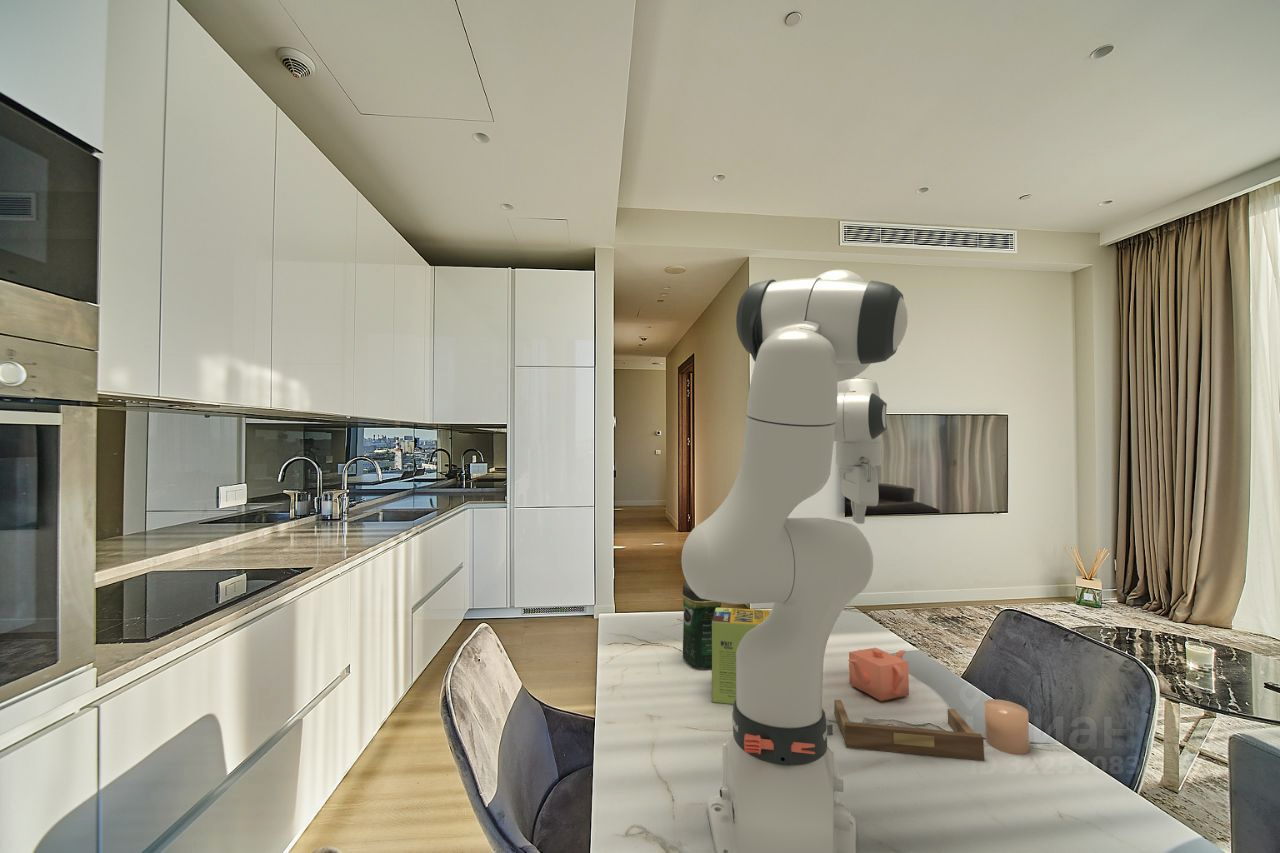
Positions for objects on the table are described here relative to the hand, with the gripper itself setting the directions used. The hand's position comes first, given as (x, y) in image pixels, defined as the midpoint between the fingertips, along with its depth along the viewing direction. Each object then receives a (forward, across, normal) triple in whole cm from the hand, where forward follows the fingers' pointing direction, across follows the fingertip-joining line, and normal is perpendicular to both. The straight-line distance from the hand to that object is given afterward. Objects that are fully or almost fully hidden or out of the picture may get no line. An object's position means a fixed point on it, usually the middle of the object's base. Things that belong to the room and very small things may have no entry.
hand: (858, 522), depth 114 cm
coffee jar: (+34, +6, +33) cm, 48 cm away
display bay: (+33, -20, -3) cm, 39 cm away
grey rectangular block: (+33, -22, +13) cm, 42 cm away
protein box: (+34, -10, +22) cm, 41 cm away
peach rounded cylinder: (+33, -20, -19) cm, 43 cm away
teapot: (+34, -3, -3) cm, 34 cm away
